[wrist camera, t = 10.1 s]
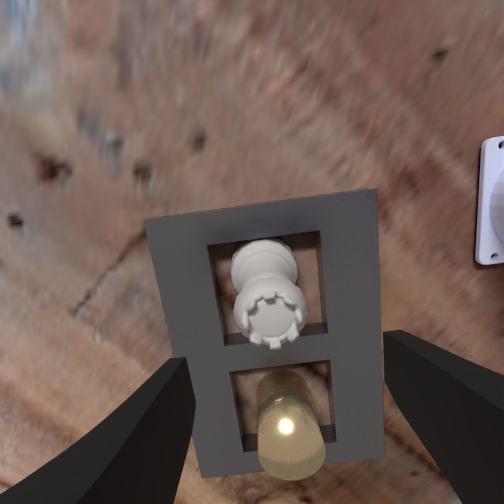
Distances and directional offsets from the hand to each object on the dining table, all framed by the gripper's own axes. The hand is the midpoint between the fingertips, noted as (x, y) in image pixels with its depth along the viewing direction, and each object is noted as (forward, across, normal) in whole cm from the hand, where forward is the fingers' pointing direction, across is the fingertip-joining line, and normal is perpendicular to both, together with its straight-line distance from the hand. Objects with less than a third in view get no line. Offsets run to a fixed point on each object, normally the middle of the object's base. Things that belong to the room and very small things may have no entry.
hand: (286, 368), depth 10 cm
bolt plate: (+9, 0, +5) cm, 10 cm away
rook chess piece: (+10, 0, -1) cm, 10 cm away
